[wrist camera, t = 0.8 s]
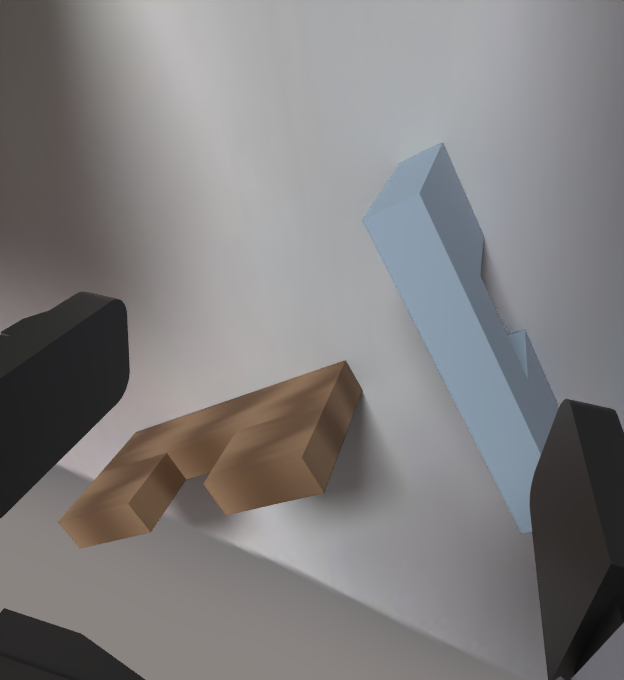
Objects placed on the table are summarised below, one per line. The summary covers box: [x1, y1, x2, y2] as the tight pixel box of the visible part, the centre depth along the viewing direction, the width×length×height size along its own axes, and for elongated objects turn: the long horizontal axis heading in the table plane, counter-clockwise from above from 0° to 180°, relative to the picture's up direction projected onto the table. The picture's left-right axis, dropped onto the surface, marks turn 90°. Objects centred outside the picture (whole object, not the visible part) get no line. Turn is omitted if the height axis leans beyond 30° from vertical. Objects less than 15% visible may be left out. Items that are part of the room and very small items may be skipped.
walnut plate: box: [58, 361, 362, 548], centre depth 32 cm, size 16×2×8 cm, turn 120°
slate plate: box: [362, 142, 558, 534], centre depth 24 cm, size 14×2×8 cm, turn 30°
